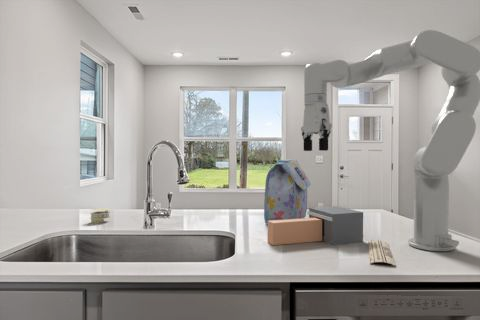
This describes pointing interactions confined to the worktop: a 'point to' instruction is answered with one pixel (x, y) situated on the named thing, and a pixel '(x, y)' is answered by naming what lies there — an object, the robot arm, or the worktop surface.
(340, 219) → the grey box
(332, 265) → the worktop surface
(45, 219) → the worktop surface
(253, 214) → the worktop surface
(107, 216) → the pale yellow grooved block
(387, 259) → the newspaper
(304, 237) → the orange rectangular block
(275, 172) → the lunch bag
